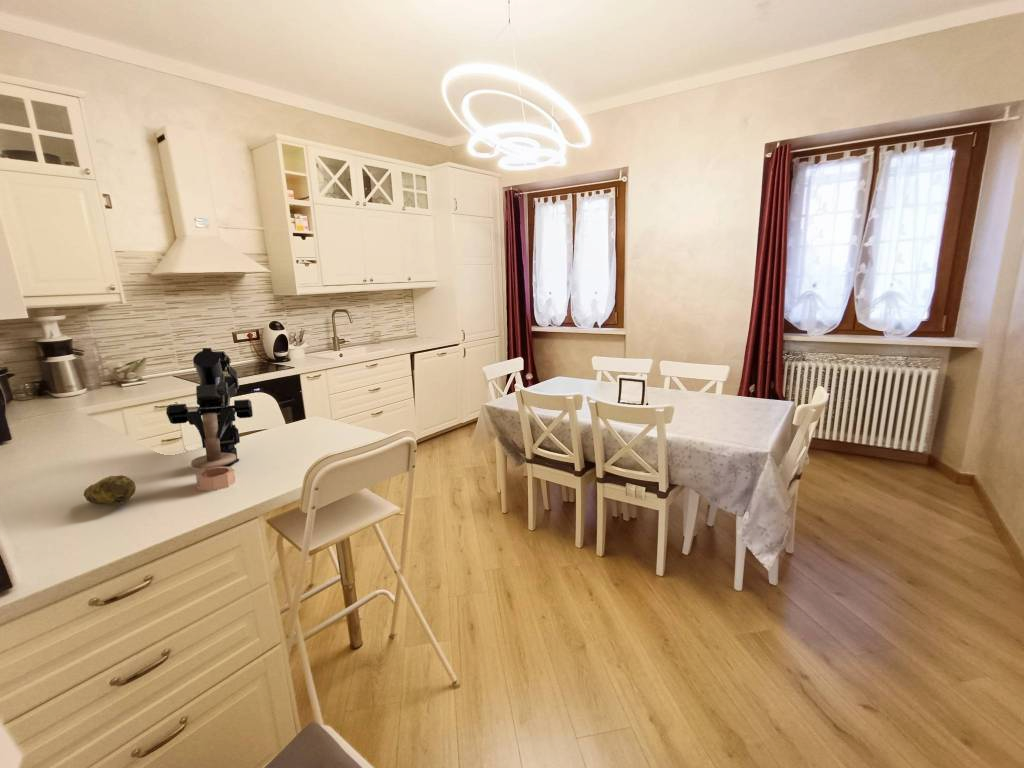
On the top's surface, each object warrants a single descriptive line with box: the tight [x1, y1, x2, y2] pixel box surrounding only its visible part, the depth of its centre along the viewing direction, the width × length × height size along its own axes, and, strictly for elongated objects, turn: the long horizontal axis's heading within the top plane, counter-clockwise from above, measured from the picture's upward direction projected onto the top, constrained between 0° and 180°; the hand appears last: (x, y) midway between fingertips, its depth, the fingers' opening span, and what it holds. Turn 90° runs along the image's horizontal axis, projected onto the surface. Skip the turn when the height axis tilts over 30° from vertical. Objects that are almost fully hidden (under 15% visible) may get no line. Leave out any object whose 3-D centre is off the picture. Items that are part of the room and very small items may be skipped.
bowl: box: [195, 466, 236, 491], centre depth 119 cm, size 8×8×4 cm
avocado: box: [82, 474, 137, 506], centre depth 105 cm, size 8×13×8 cm, turn 51°
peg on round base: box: [190, 413, 236, 469], centre depth 117 cm, size 10×10×13 cm
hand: (211, 438), depth 116 cm, fingers closed on peg on round base, 3 cm apart
